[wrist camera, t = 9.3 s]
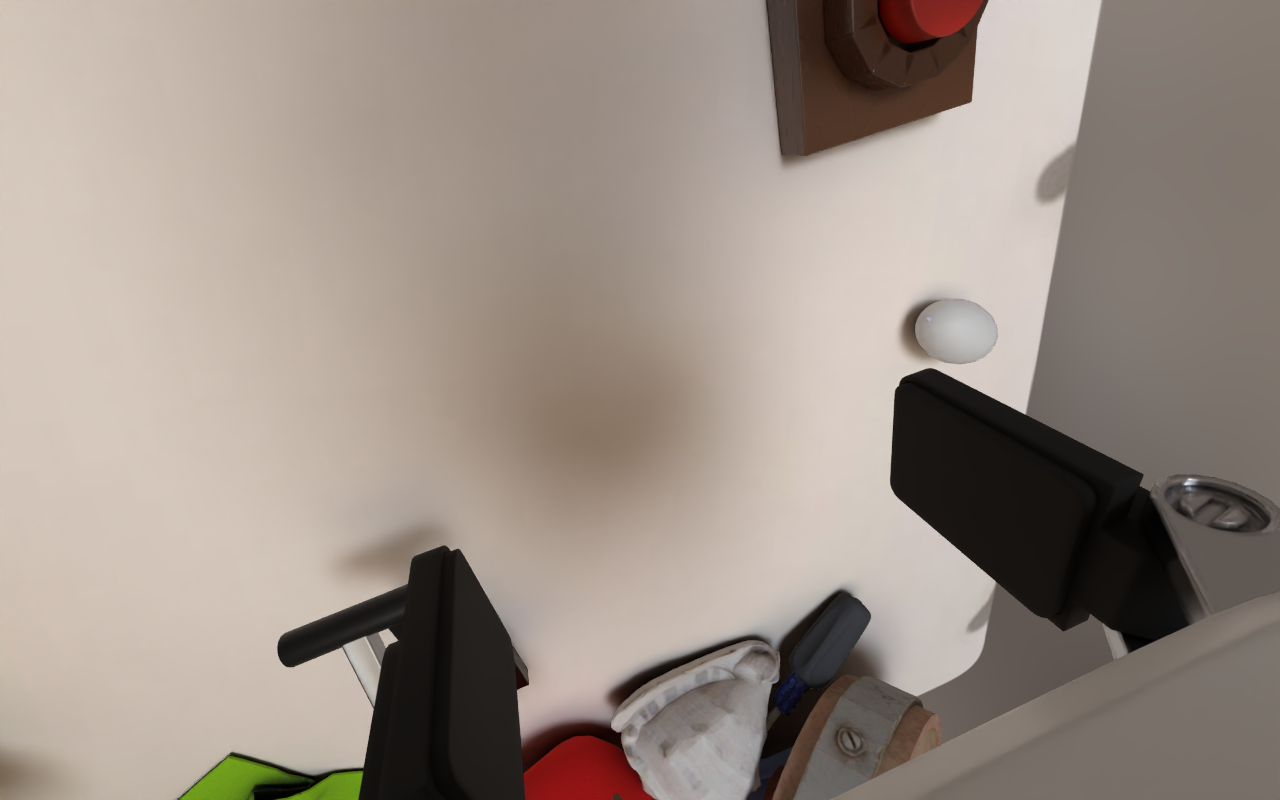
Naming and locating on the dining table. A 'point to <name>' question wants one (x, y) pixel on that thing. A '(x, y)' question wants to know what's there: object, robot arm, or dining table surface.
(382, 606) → the lever
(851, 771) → the landmine
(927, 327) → the egg
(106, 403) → the dining table surface
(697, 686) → the seashell
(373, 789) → the robot arm
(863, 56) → the button block
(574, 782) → the tomato
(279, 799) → the cloth
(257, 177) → the dining table surface
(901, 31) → the button
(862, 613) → the screwdriver
